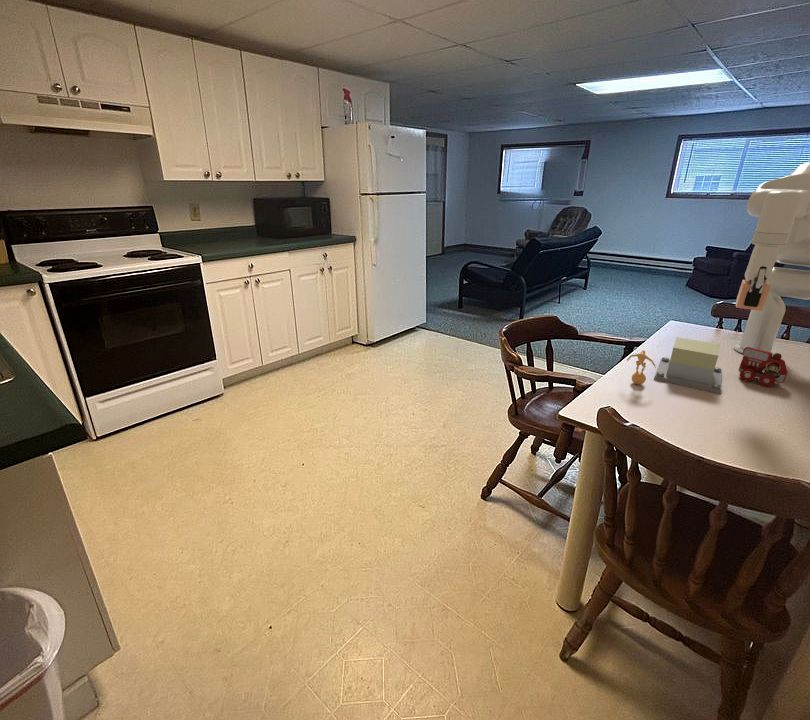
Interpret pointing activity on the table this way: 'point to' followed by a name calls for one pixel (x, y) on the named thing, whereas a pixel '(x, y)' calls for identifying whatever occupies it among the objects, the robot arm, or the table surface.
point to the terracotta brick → (743, 292)
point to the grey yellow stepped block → (692, 365)
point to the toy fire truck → (762, 367)
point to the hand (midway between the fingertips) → (749, 302)
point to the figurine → (638, 376)
